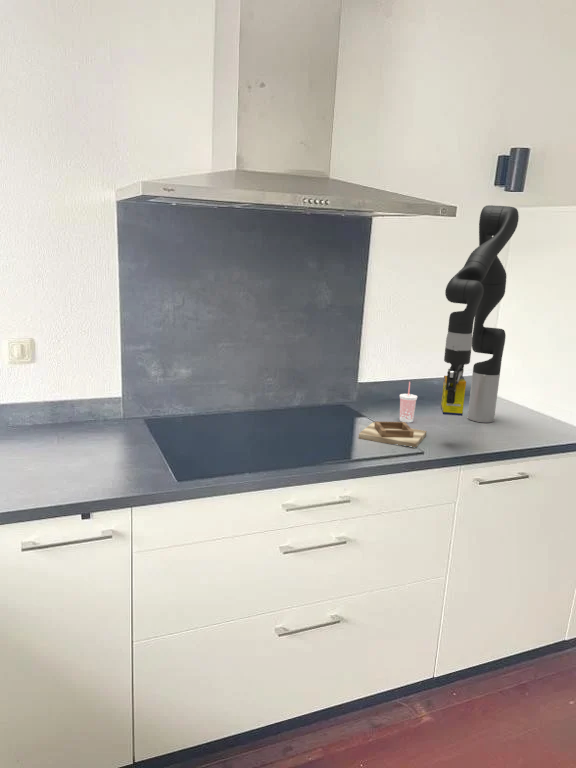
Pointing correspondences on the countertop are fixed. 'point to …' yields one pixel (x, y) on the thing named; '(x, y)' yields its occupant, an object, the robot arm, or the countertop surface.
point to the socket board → (392, 440)
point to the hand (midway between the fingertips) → (452, 400)
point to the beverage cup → (407, 406)
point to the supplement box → (459, 399)
